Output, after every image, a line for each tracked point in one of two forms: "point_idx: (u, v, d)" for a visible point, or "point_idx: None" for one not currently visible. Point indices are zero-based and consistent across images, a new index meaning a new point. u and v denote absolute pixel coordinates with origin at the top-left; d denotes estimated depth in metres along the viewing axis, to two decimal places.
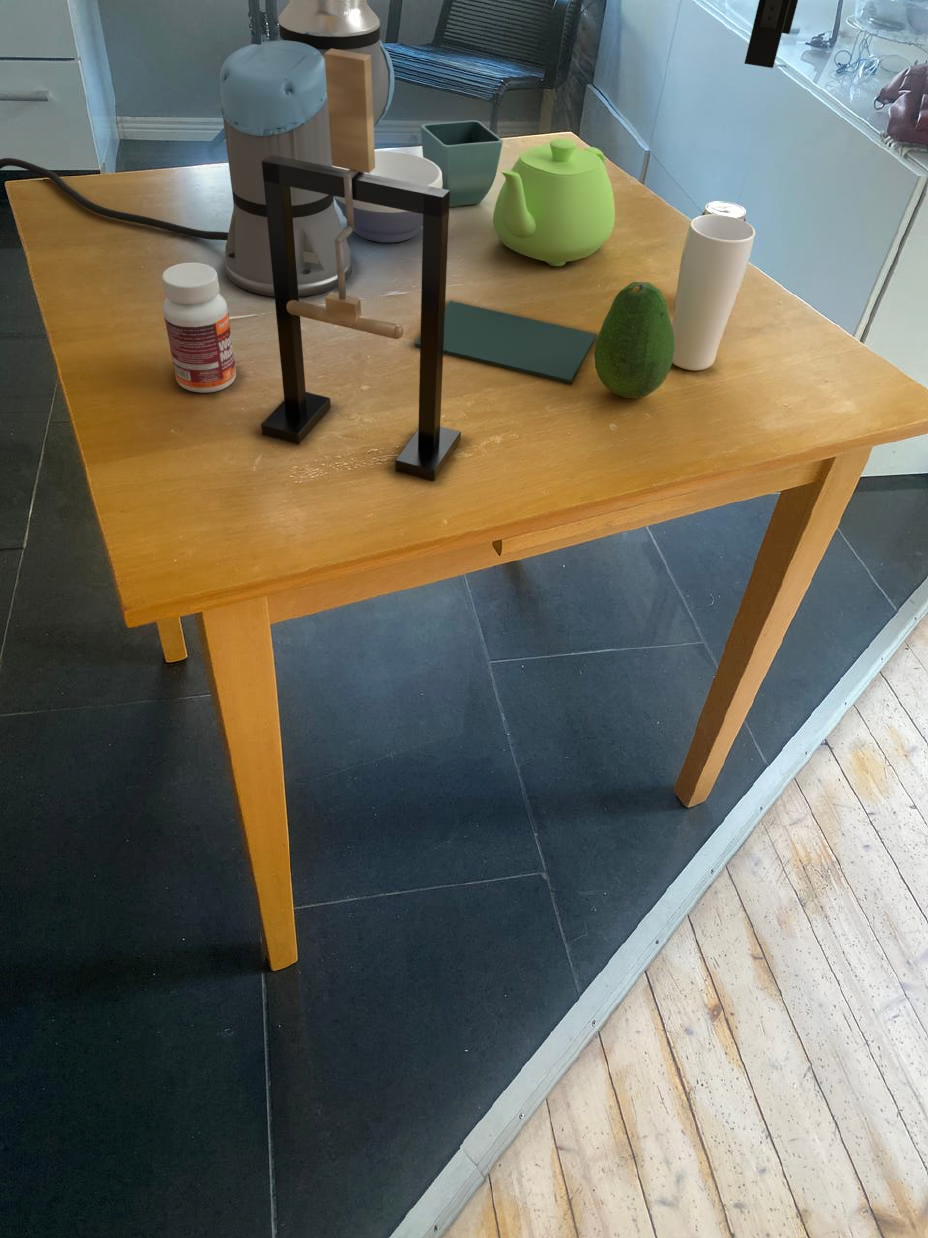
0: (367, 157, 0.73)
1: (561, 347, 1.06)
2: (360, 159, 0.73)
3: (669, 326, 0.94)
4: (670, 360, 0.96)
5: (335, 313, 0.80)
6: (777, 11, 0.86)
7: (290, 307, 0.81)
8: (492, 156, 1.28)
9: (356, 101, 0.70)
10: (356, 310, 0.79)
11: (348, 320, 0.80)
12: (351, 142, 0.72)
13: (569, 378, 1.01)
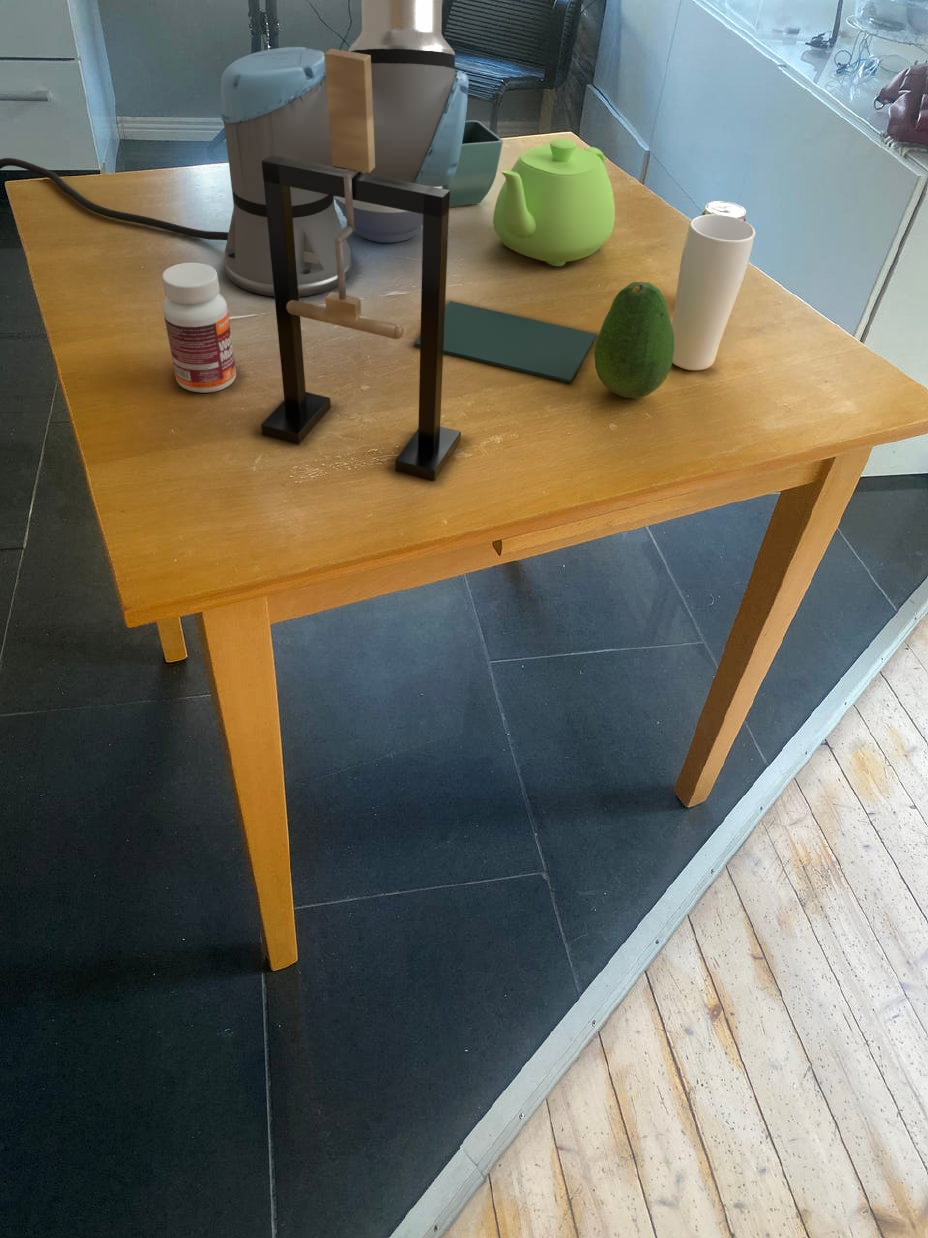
0: (367, 157, 0.73)
1: (561, 347, 1.06)
2: (360, 159, 0.73)
3: (669, 326, 0.94)
4: (670, 360, 0.96)
5: (335, 313, 0.80)
6: None
7: (290, 307, 0.81)
8: (492, 156, 1.28)
9: (356, 101, 0.70)
10: (356, 310, 0.79)
11: (348, 320, 0.80)
12: (351, 142, 0.72)
13: (569, 378, 1.01)
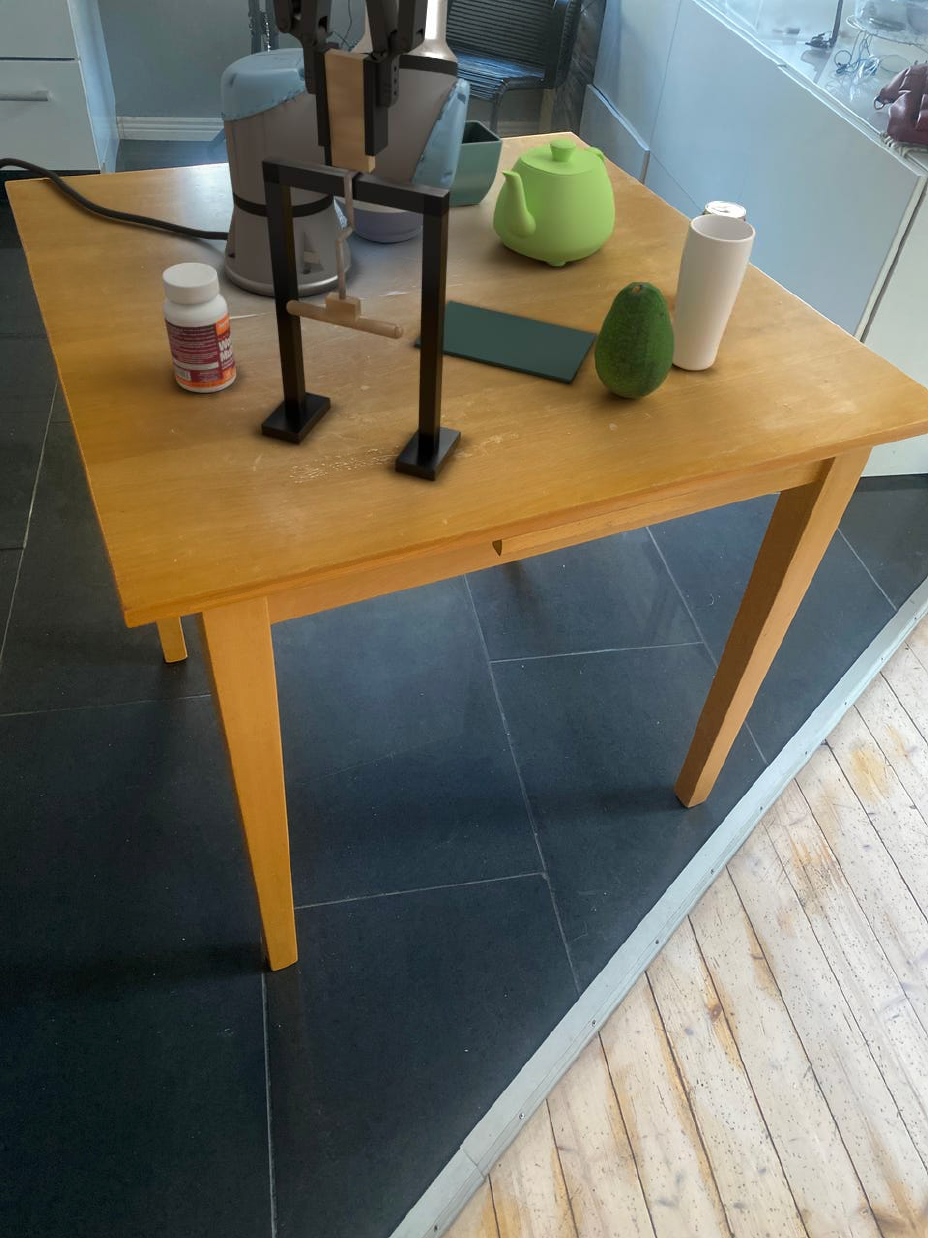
0: (367, 157, 0.73)
1: (561, 347, 1.06)
2: (360, 159, 0.73)
3: (669, 326, 0.94)
4: (670, 360, 0.96)
5: (335, 313, 0.80)
6: (304, 71, 0.70)
7: (290, 307, 0.81)
8: (492, 156, 1.28)
9: (356, 101, 0.70)
10: (356, 310, 0.79)
11: (348, 320, 0.80)
12: (351, 142, 0.72)
13: (569, 378, 1.01)
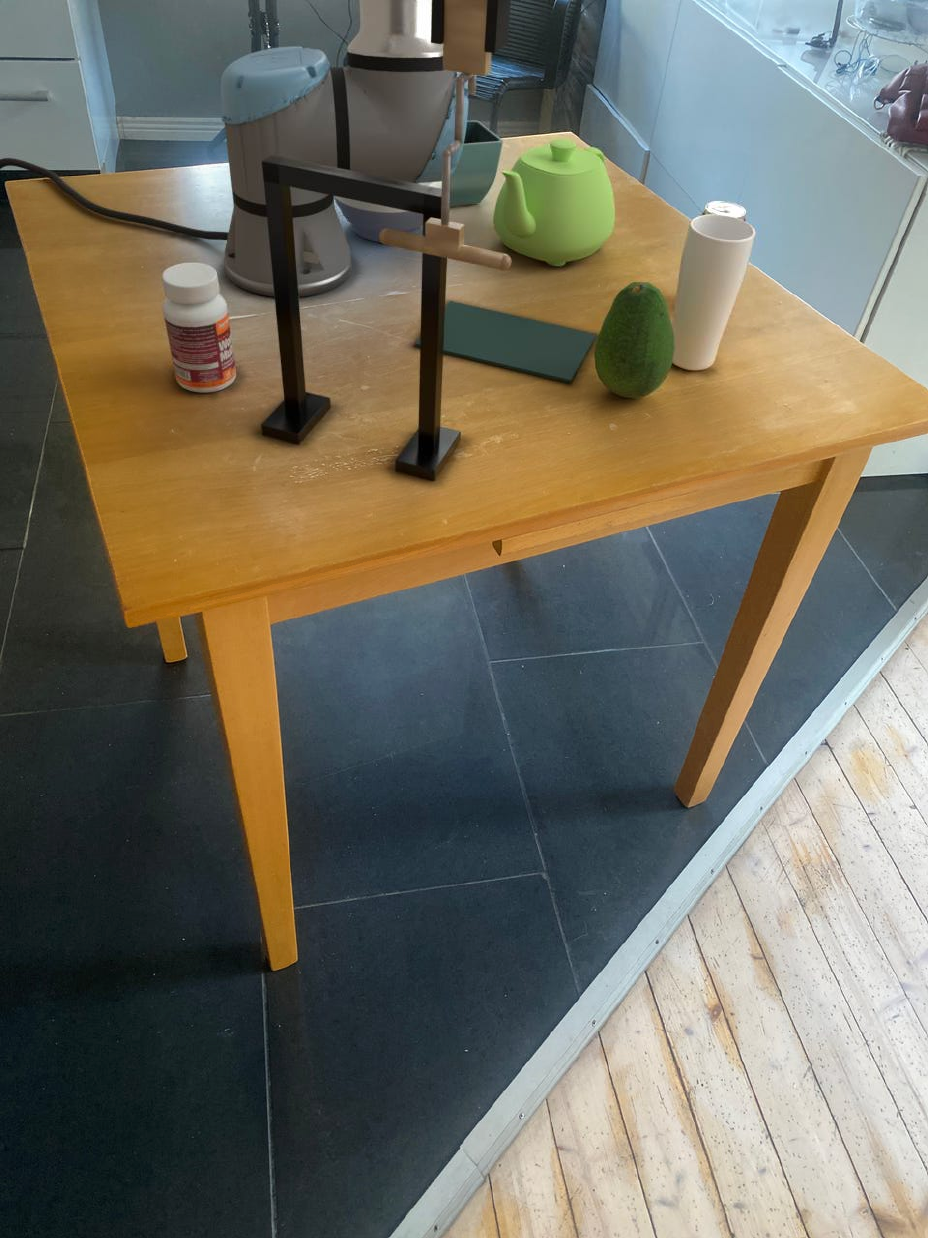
0: (484, 57, 0.65)
1: (561, 347, 1.06)
2: (476, 60, 0.65)
3: (669, 326, 0.94)
4: (670, 360, 0.96)
5: (435, 241, 0.72)
6: None
7: (384, 236, 0.73)
8: (492, 156, 1.28)
9: None
10: (460, 237, 0.71)
11: (450, 249, 0.72)
12: (467, 39, 0.64)
13: (569, 378, 1.01)
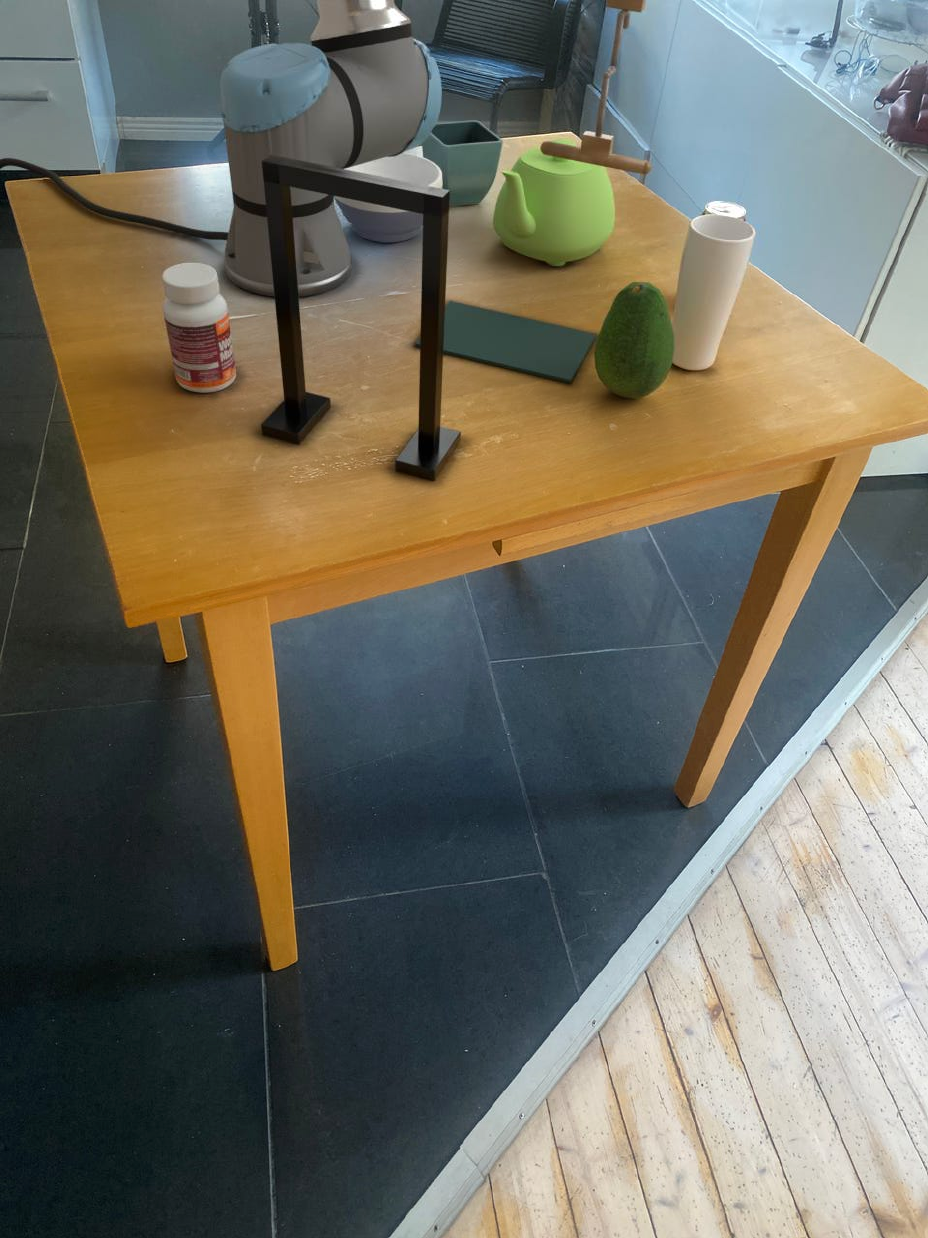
0: None
1: (561, 347, 1.06)
2: None
3: (669, 326, 0.94)
4: (670, 360, 0.96)
5: (589, 150, 0.88)
6: None
7: (545, 147, 0.90)
8: (492, 156, 1.28)
9: None
10: (610, 146, 0.88)
11: (601, 156, 0.88)
12: None
13: (569, 378, 1.01)
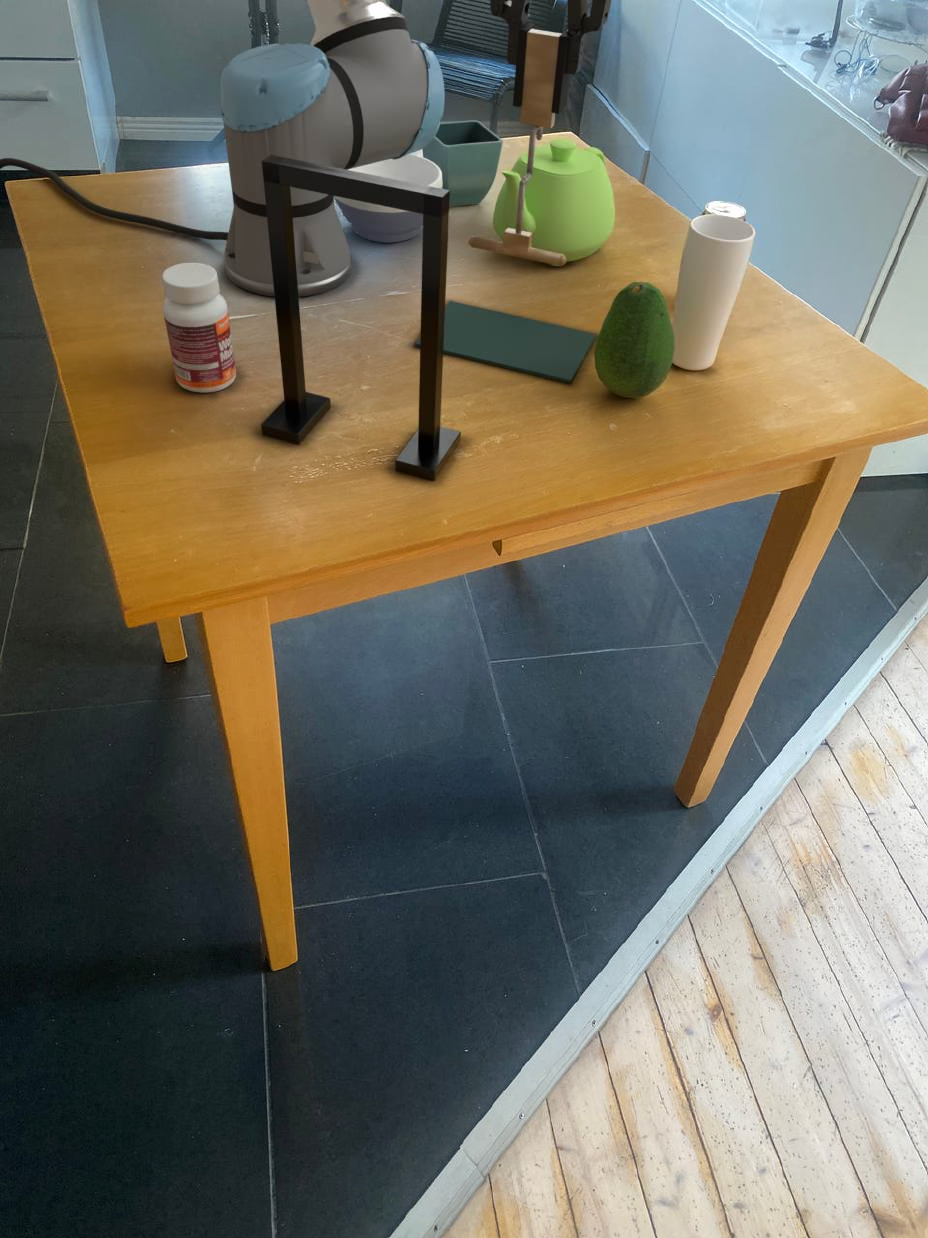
0: (551, 115, 0.92)
1: (561, 347, 1.06)
2: (545, 117, 0.92)
3: (669, 326, 0.94)
4: (670, 360, 0.96)
5: (511, 245, 0.99)
6: None
7: (472, 241, 1.00)
8: (492, 156, 1.28)
9: (548, 70, 0.89)
10: (529, 242, 0.98)
11: (521, 250, 0.99)
12: (539, 103, 0.92)
13: (569, 378, 1.01)
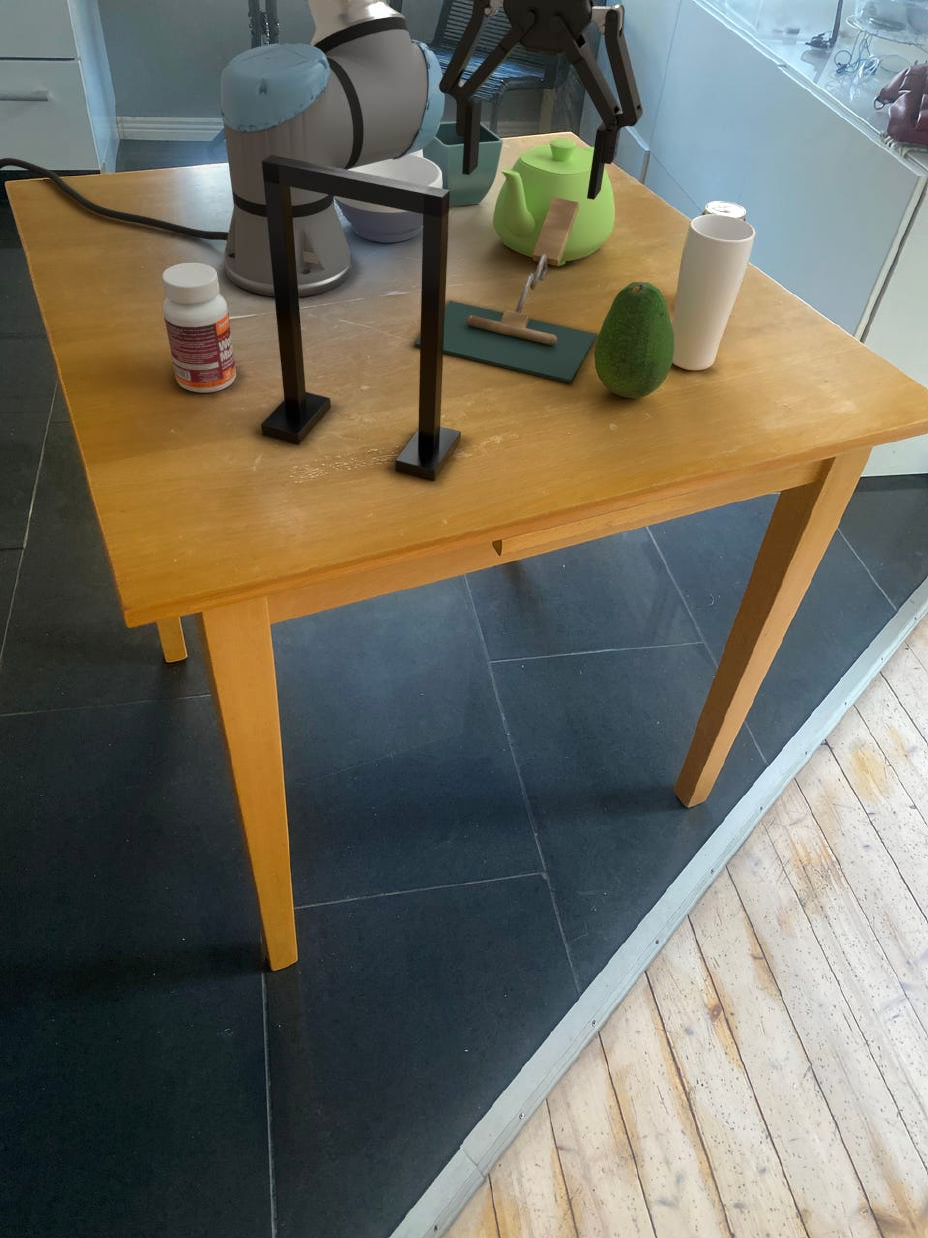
0: (560, 251, 1.12)
1: (561, 347, 1.06)
2: (554, 251, 1.12)
3: (669, 326, 0.94)
4: (670, 360, 0.96)
5: (508, 320, 1.07)
6: (456, 120, 0.96)
7: (471, 316, 1.08)
8: (492, 156, 1.28)
9: (565, 221, 1.12)
10: (526, 320, 1.07)
11: (517, 326, 1.06)
12: (552, 242, 1.12)
13: (569, 378, 1.01)
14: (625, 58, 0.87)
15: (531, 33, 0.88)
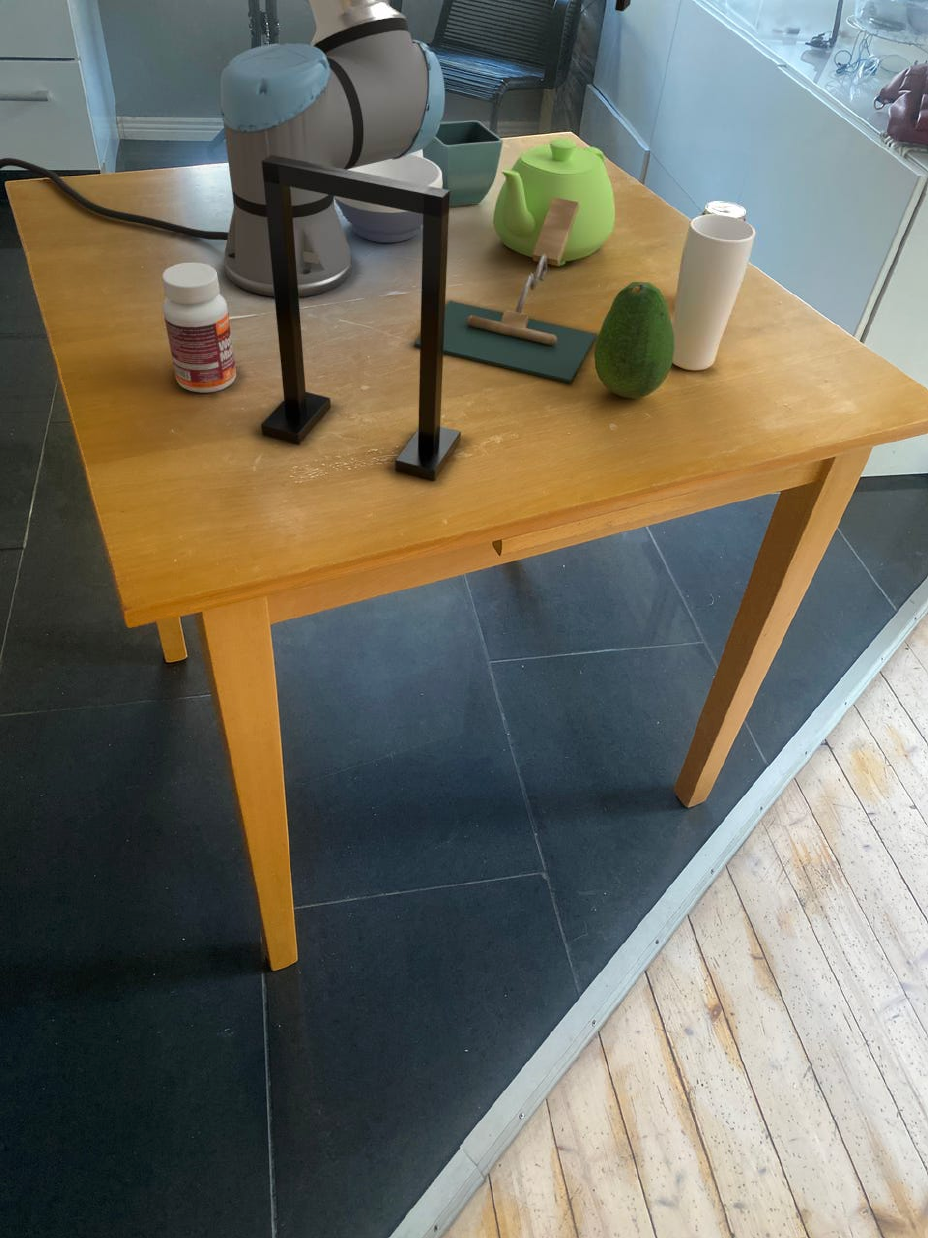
0: (560, 251, 1.12)
1: (561, 347, 1.06)
2: (554, 251, 1.12)
3: (669, 326, 0.94)
4: (670, 360, 0.96)
5: (508, 320, 1.07)
6: None
7: (471, 316, 1.08)
8: (492, 156, 1.28)
9: (565, 221, 1.12)
10: (526, 320, 1.07)
11: (517, 326, 1.06)
12: (552, 242, 1.12)
13: (569, 378, 1.01)
14: None
15: None
